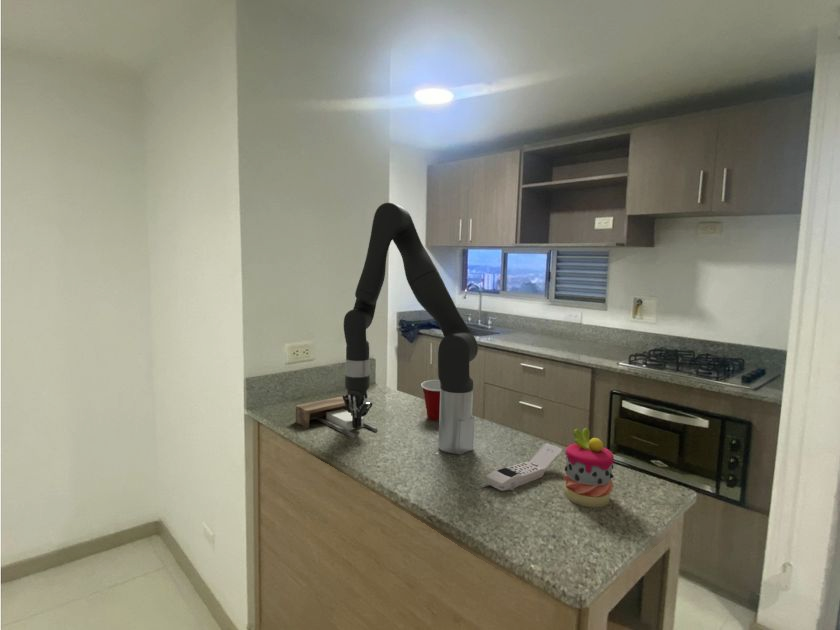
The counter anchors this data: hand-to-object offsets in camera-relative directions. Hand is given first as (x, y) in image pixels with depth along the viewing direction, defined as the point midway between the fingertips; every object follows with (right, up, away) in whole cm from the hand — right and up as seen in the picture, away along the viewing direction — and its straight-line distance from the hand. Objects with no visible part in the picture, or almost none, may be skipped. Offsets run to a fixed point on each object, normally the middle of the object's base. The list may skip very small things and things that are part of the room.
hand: (356, 427), depth 146 cm
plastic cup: (+25, 0, +14) cm, 29 cm away
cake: (+58, -7, -38) cm, 69 cm away
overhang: (-5, 0, +6) cm, 7 cm away
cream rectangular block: (-5, 0, +6) cm, 8 cm away
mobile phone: (+45, -6, -29) cm, 54 cm away
